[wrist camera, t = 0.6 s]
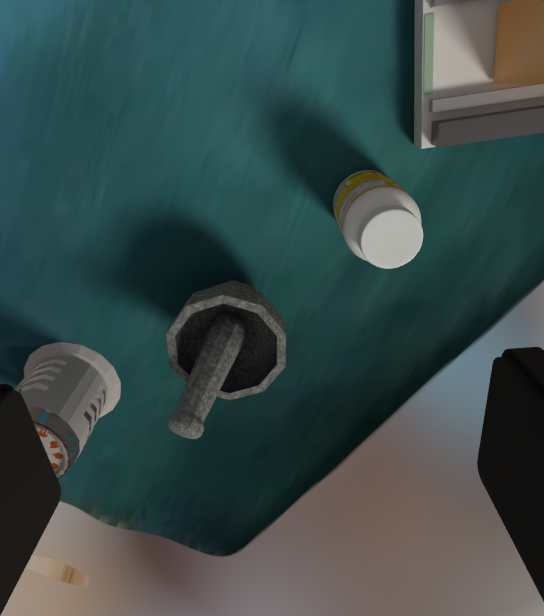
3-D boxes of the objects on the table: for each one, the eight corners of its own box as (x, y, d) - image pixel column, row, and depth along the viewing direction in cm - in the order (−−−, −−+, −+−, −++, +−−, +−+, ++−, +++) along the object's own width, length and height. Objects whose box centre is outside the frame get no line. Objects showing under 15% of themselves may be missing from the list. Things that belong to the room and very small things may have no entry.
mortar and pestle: (220, 241, 39) (198, 303, 28) (306, 298, 41) (316, 376, 30) (157, 333, 43) (117, 417, 32) (238, 379, 45) (226, 472, 35)
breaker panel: (414, -45, 30) (431, -61, 26) (636, -83, 29) (682, -104, 25) (414, 145, 35) (428, 151, 32) (600, 118, 34) (634, 122, 31)
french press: (140, 382, 45) (10, 671, 23) (78, 443, 49) (-85, 743, 27) (56, 323, 42) (-187, 591, 20) (-4, 394, 46) (-262, 684, 24)
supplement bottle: (324, 181, 36) (340, 213, 28) (389, 159, 35) (426, 184, 27) (341, 242, 39) (360, 288, 30) (403, 222, 38) (440, 263, 29)
